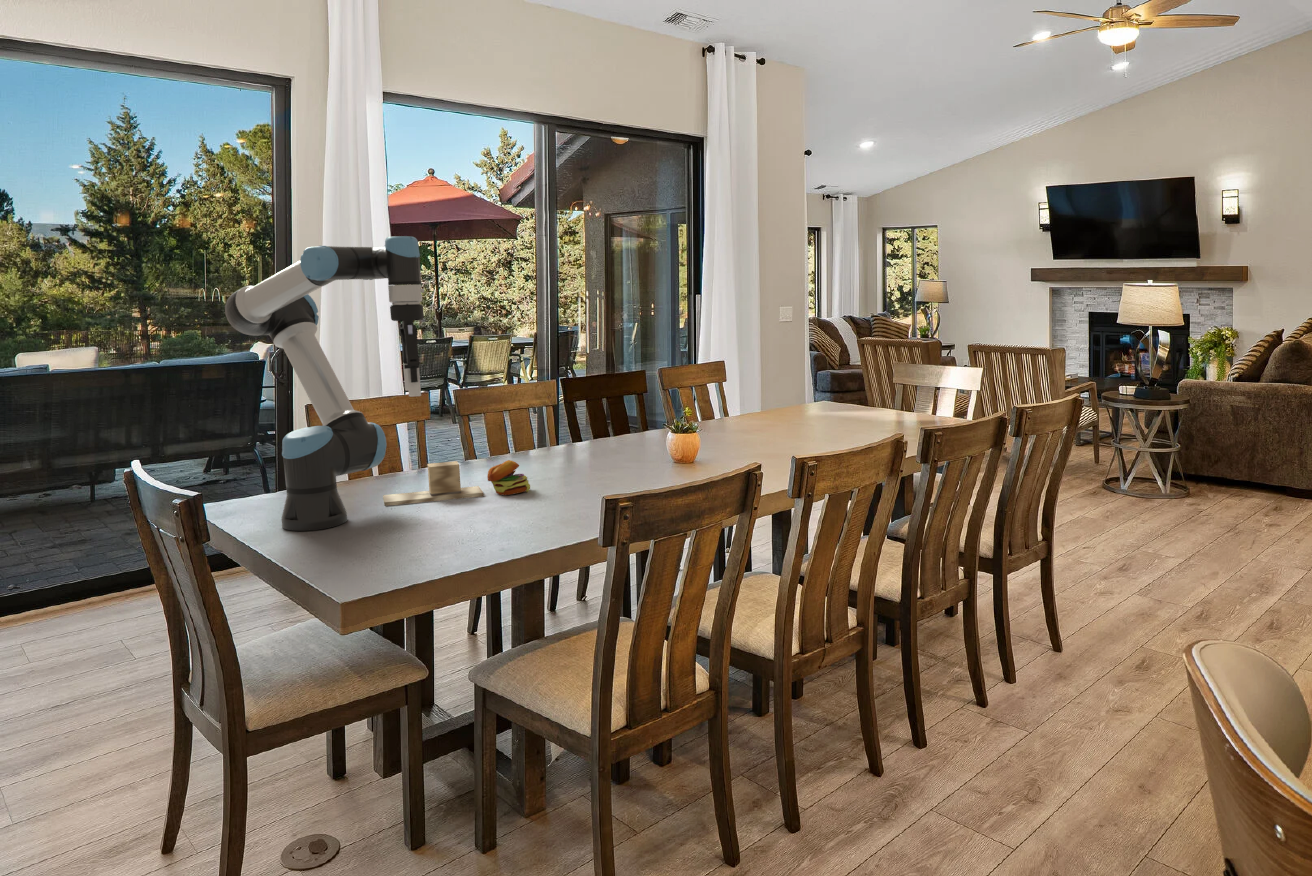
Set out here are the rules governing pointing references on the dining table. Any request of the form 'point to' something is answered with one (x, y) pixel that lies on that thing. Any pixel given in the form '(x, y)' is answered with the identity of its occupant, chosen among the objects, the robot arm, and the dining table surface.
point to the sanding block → (444, 478)
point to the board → (426, 497)
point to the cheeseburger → (508, 479)
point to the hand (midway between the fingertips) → (412, 393)
